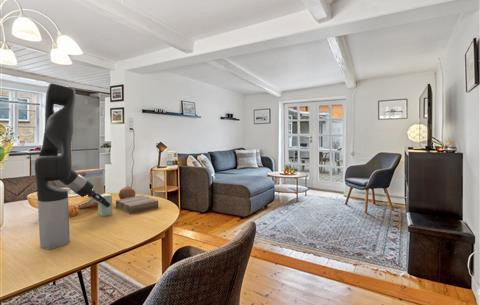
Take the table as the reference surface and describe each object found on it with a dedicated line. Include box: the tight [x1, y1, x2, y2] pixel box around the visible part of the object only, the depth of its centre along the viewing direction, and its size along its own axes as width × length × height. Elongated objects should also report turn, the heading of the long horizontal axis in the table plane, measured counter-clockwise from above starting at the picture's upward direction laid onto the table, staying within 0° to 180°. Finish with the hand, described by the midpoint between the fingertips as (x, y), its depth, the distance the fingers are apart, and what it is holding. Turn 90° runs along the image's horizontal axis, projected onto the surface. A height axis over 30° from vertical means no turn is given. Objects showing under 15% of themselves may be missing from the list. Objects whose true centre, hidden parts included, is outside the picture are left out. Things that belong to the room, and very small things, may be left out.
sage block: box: [97, 193, 113, 217], centre depth 135 cm, size 5×5×10 cm
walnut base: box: [115, 194, 159, 215], centre depth 148 cm, size 18×16×4 cm
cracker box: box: [74, 168, 105, 210], centre depth 150 cm, size 14×6×21 cm, turn 139°
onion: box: [118, 185, 136, 200], centre depth 161 cm, size 10×9×10 cm
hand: (106, 204), depth 136 cm, fingers closed on sage block, 5 cm apart
